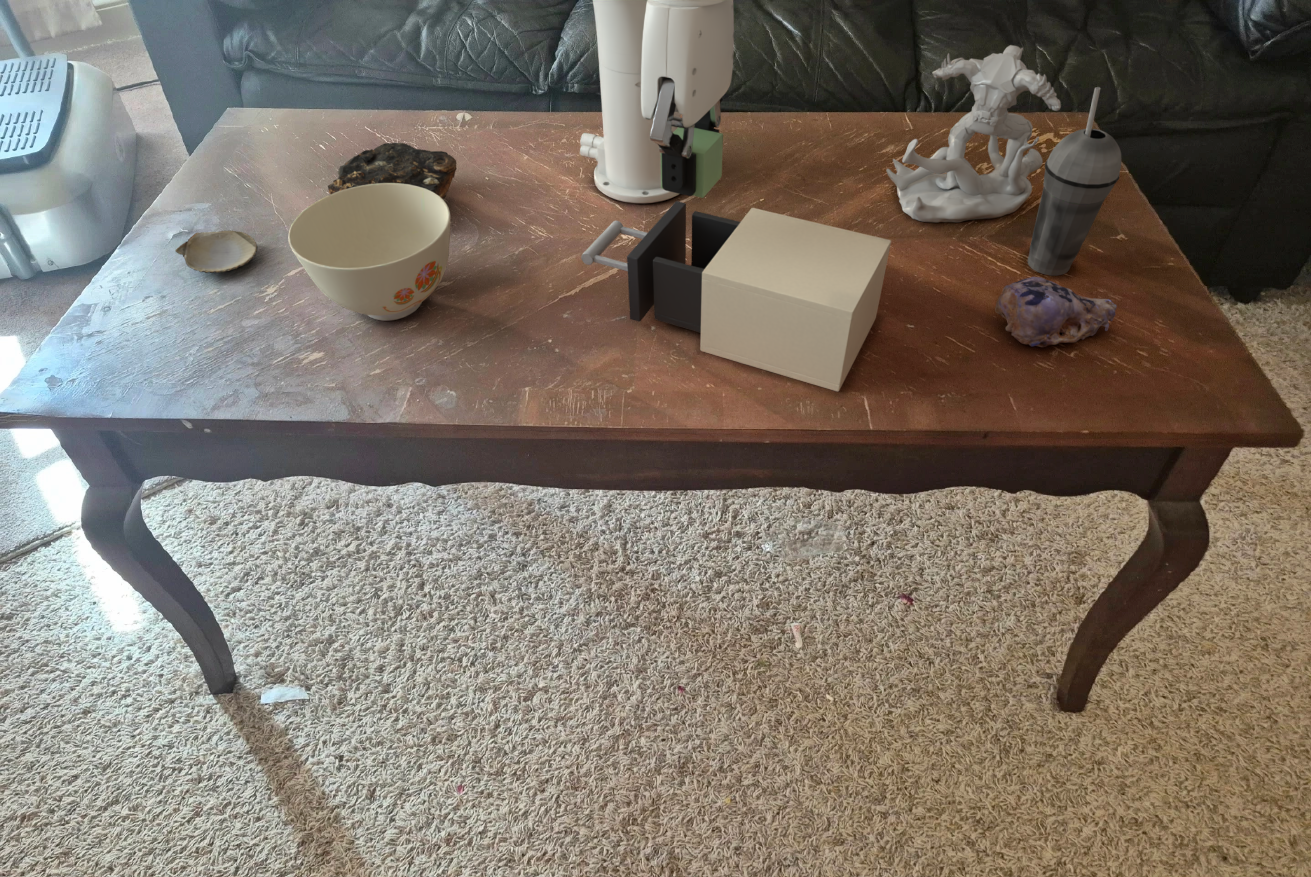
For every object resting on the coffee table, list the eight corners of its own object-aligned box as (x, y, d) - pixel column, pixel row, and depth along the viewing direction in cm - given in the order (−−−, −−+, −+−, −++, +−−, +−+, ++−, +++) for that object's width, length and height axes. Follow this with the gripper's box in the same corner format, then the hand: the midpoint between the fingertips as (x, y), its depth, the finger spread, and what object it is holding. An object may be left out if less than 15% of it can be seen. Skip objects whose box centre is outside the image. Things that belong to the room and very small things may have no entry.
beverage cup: (1087, 286, 96) (1158, 108, 81) (1017, 279, 97) (1075, 102, 82) (1078, 248, 101) (1144, 75, 86) (1012, 242, 102) (1066, 70, 87)
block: (660, 188, 83) (660, 144, 80) (680, 167, 86) (680, 124, 83) (703, 198, 82) (704, 154, 79) (721, 176, 84) (723, 133, 81)
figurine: (1014, 169, 113) (1058, 25, 100) (1050, 223, 104) (1103, 72, 92) (877, 175, 113) (903, 31, 100) (901, 229, 104) (933, 79, 91)
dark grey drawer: (574, 303, 94) (567, 240, 88) (623, 248, 101) (620, 187, 95) (750, 354, 87) (755, 290, 82) (789, 292, 94) (796, 229, 89)
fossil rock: (375, 172, 116) (363, 130, 111) (472, 183, 113) (464, 141, 109) (323, 229, 106) (309, 186, 102) (428, 243, 104) (418, 199, 100)
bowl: (336, 368, 88) (306, 286, 81) (303, 286, 98) (274, 206, 91) (487, 321, 93) (471, 240, 86) (440, 247, 103) (423, 169, 96)
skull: (1102, 303, 92) (1122, 259, 88) (1119, 358, 88) (1142, 315, 83) (984, 304, 94) (997, 260, 89) (995, 358, 89) (1010, 315, 84)
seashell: (232, 298, 100) (274, 248, 103) (222, 281, 97) (265, 231, 101) (172, 273, 101) (216, 224, 105) (160, 255, 98) (205, 206, 102)
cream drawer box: (700, 351, 89) (701, 272, 82) (746, 284, 97) (751, 207, 90) (838, 392, 84) (852, 312, 78) (875, 318, 92) (891, 240, 85)
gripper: (692, -64, 77) (691, 134, 90) (601, -1, 66) (614, 213, 79) (773, -54, 75) (759, 148, 88) (691, 13, 64) (689, 231, 77)
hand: (690, 177), depth 83 cm, fingers closed on block, 4 cm apart
